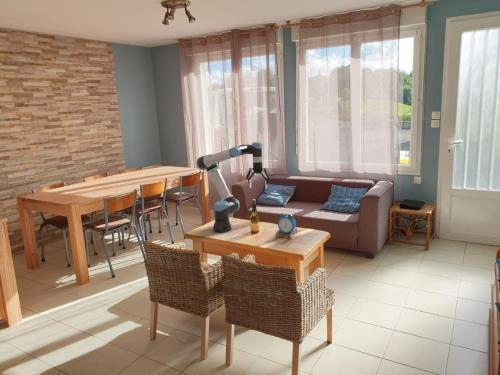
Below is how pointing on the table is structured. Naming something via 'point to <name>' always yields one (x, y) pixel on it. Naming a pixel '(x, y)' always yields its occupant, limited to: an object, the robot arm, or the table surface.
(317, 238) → the table surface
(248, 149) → the robot arm
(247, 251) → the table surface
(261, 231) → the table surface
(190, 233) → the table surface
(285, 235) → the plinth
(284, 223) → the alarm clock
